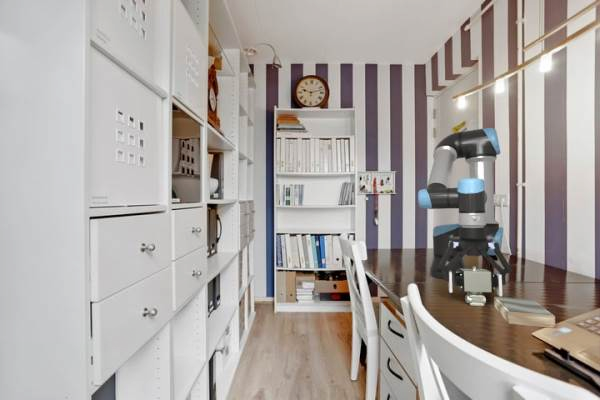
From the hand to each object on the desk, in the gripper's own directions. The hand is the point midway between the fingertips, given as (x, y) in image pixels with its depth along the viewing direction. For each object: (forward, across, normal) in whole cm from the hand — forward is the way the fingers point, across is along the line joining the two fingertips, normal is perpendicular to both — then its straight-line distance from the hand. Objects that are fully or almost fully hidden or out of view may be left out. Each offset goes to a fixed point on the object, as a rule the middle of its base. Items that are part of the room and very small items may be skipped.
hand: (474, 293), depth 94 cm
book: (+4, +10, -8) cm, 13 cm away
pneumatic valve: (+4, 0, 0) cm, 4 cm away
